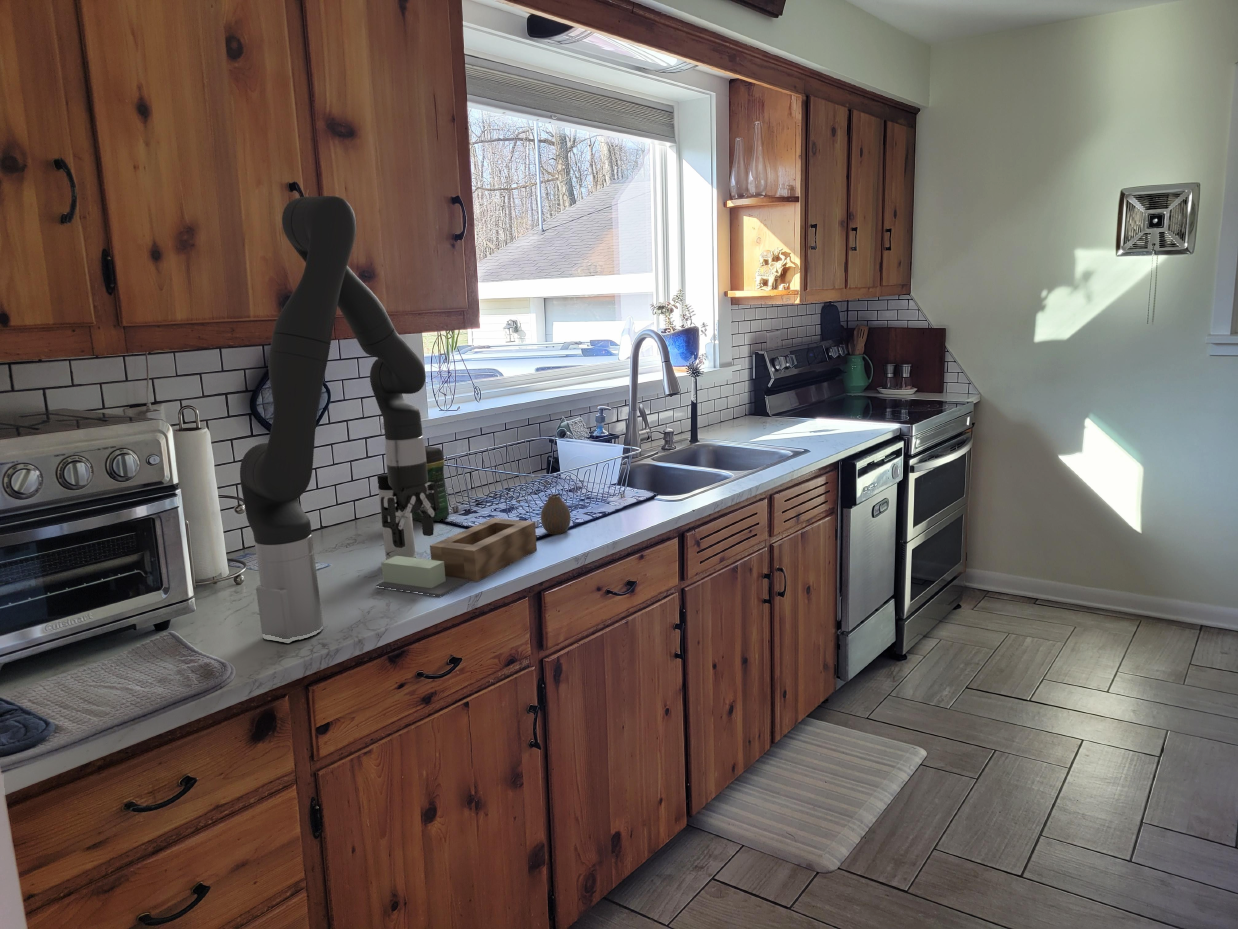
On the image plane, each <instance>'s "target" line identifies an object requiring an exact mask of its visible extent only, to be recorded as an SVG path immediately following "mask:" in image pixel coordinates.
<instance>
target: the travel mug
mask: <svg viewBox="0 0 1238 929" xmlns="http://www.w3.org/2000/svg"><path fill="white" fill-rule="evenodd" d="M376 477H377V478H376V479H377V485H378V486H377V487H378V490H377V491H378V499H379V506H380V507H379V508H380V511H381V497H390V496H392V494H393V489H392V487H391V486H390V485H389V483H388V474H387V473H386V474H385V473H384V474H379V475H377V476H376ZM398 512H399V513H402V512H401V511H400V510H399V511H398ZM380 517H381V518H380V519H381V520H382V514H381V513H380ZM398 521H399V518H398V519H397V522H396V523H398ZM388 522H390V517H389V516H388ZM413 524H414V523H413V519H412V513H410V514H409V517H408V518H407V519H406V520H405V522H404V525H403V528H402V529H404V538H405V547H403V548H396V547H395V546H394V545H393V540H392V531H391V529H390V528H384V527H383V526H382V525H381V527H382V536H383V544H384V553H385V560H388V559H390V558H392V557H395V556H403V557H411V558H417V555H416V544H415V535H414V527H413V526H414V525H413Z"/></svg>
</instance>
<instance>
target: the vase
mask: <svg viewBox="0 0 1238 929" xmlns="http://www.w3.org/2000/svg"><path fill="white" fill-rule="evenodd" d="M570 511H571V510H570V509H569V506H568V504H566V503H565V501H564V500H563V499H562V498H561V496H560V494H550V495H549V496H548V498H547V500H546V502H545V503H544V505H543V507H542V509H541V512H540V523H541V525H542V528H543V530H544V531H545V532H546V533H547V534H549V535H561V534H564V533H566V532H567V531H568V530H569V528H570V525H571V512H570Z"/></svg>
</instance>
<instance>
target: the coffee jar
mask: <svg viewBox="0 0 1238 929" xmlns="http://www.w3.org/2000/svg"><path fill="white" fill-rule="evenodd" d="M425 452H426V463H427V473H428V482H431V483H436V484H437V491H438V498H439V505H440V510H439V511H438V512H435V513H434V516H433V522H436V521H437V522H440V520H441V519H443V518H445V519H446V518H448V517H449V516H450V508H449V502H448V495H447V491H446V481H445V475H444V474H445V473H444V472H445V471H444V468H445V467H444V466H445V457H444V452H443V450H442V449H441V448H440V447H433V446H426V445H425ZM431 502H432V505H434V503H433V501H432V500H431ZM421 517H423V516H422V515H421V514H420V512H419V511H418V510H415V511H414V512H413V513H412V520H415V521H420V522H422V521H421ZM443 520H444V519H443ZM441 521H442V520H441Z"/></svg>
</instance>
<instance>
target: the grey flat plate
mask: <svg viewBox="0 0 1238 929" xmlns="http://www.w3.org/2000/svg"><path fill="white" fill-rule="evenodd" d="M445 578H446V581H444V582H442V583H440V584H438V585H437V586H435V587H433V588H427V587H419V586H412V585H405V584H398V583H390V582H383V581H382V582H379V583H377V584H375V587H376V586H379V587H384V588H391V589H396V590H403V591H410V592H418V593H423V594H429V595H435V596H434V597H436V596H442V595H444V594H446V595H448V594H449V592H450V593H451V592H453V591H456V590H458V589H459V588H461V587H463V586H465V585H466V584H467V585H468V583H470V581H469V579H463V578H455V577H448V576H445ZM447 593H448V594H447ZM423 594H422V595H423ZM429 595H428V596H429ZM444 596H445V595H444ZM442 597H443V596H442Z"/></svg>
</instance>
